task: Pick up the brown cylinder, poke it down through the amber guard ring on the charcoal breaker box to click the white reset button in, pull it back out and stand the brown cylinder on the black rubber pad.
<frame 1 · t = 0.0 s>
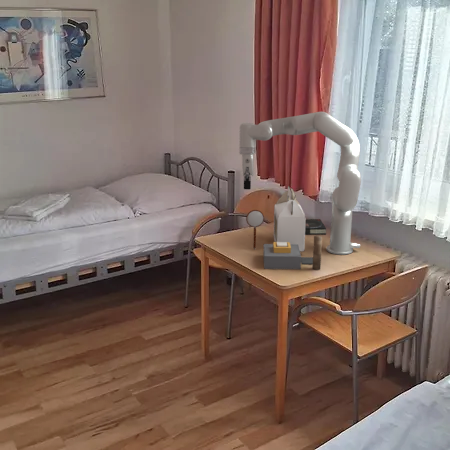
hand: (247, 186, 256), 31 cm above the table, tool pointing down, fingers open, 9 cm apart
brown cylinder: (316, 268, 242), on the table
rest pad: (309, 261, 250), on the table
breaker box: (281, 262, 249), on the table
magnifying glass: (254, 249, 266), on the table
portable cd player: (307, 231, 295), on the table
gable box: (288, 244, 274), on the table
reset button: (281, 250, 247), point 6 cm above the table, slide at 0.0 cm
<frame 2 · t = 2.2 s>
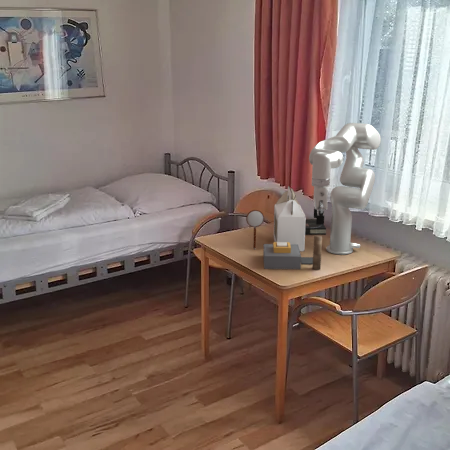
hand: (318, 221, 235), 22 cm above the table, tool pointing down, fingers open, 9 cm apart
nothing on the table moved.
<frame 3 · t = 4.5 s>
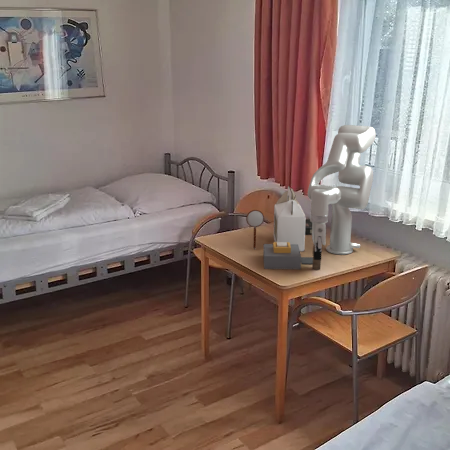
hand: (316, 257, 240), 5 cm above the table, tool pointing down, fingers closed on brown cylinder, 3 cm apart
brown cylinder: (316, 268, 242), on the table, touching gripper
everything else where it was.
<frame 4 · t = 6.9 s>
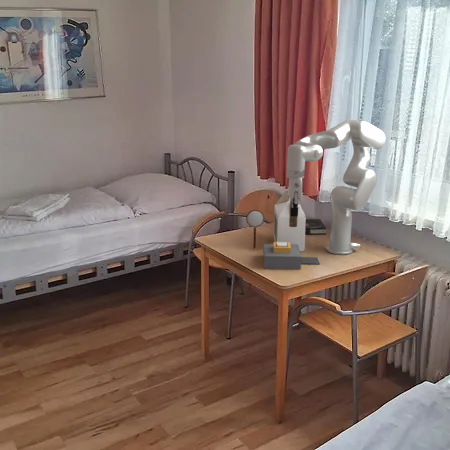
hand: (293, 214, 239), 24 cm above the table, tool pointing down, fingers closed on brown cylinder, 3 cm apart
brown cylinder: (293, 226, 241), point 18 cm above the table, touching gripper
everything else where it was.
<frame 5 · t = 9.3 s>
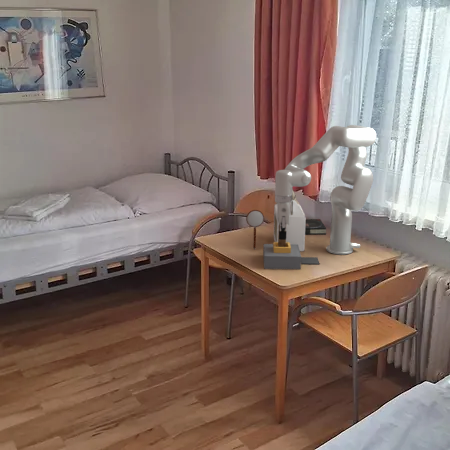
hand: (282, 237, 245), 12 cm above the table, tool pointing down, fingers closed on brown cylinder, 3 cm apart
brown cylinder: (281, 248, 247), point 7 cm above the table, touching gripper, reset button
reset button: (281, 254, 248), point 4 cm above the table, slide at 2.2 cm, touching brown cylinder
everything else where it was.
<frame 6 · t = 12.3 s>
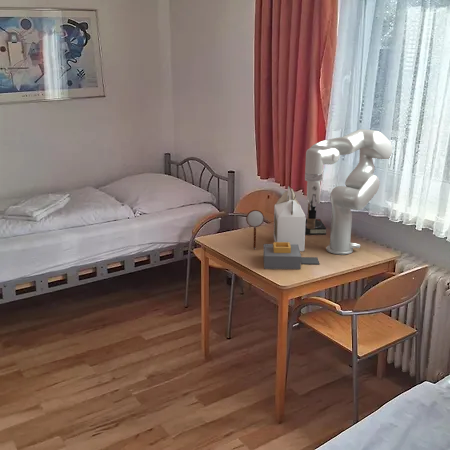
hand: (311, 216, 244), 21 cm above the table, tool pointing down, fingers closed on brown cylinder, 3 cm apart
brown cylinder: (310, 228, 246), point 16 cm above the table, touching gripper
reset button: (281, 254, 248), point 4 cm above the table, slide at 2.2 cm
everything else where it was.
when the fingers open (7 cm above the table, at t = 15.0 s): brown cylinder stays where it is, resting on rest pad.
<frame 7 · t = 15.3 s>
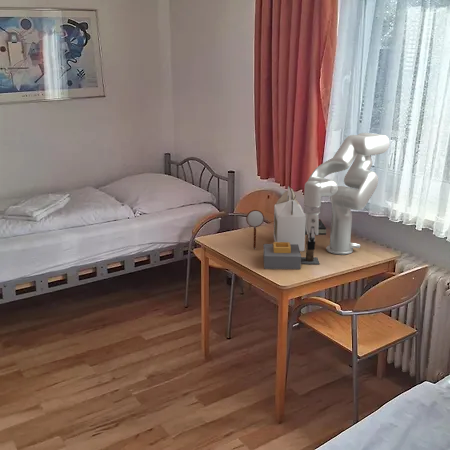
hand: (310, 246, 248), 7 cm above the table, tool pointing down, fingers open, 6 cm apart
brown cylinder: (309, 260, 250), point 1 cm above the table, touching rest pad
everything else where it was.
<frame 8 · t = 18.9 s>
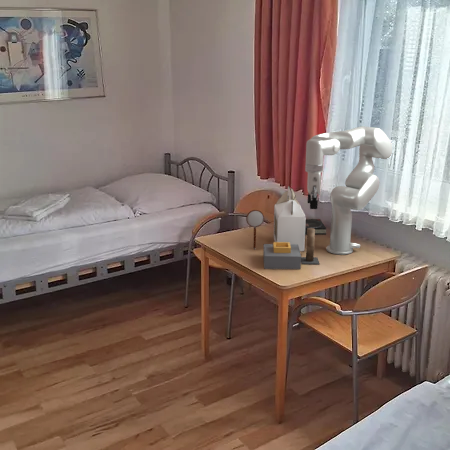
hand: (312, 205, 243), 26 cm above the table, tool pointing down, fingers open, 9 cm apart
nothing on the table moved.
at the end: reset button slide at 2.2 cm; brown cylinder inside the target area on the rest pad (0.0 cm from its centre), point 0.5 cm above the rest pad's base; brown cylinder tilted 0° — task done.
